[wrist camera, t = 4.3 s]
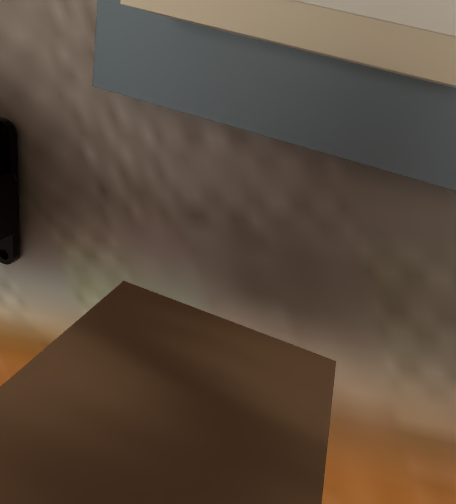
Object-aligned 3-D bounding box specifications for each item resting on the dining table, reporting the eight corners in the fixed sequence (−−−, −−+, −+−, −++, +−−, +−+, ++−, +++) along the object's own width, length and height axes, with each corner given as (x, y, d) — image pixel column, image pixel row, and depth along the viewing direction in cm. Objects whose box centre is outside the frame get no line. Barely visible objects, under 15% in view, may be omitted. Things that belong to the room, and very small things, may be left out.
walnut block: (106, 426, 12) (-50, 639, 7) (124, 281, 9) (-91, 464, 5) (272, 501, 11) (208, 795, 6) (336, 361, 8) (304, 670, 4)
